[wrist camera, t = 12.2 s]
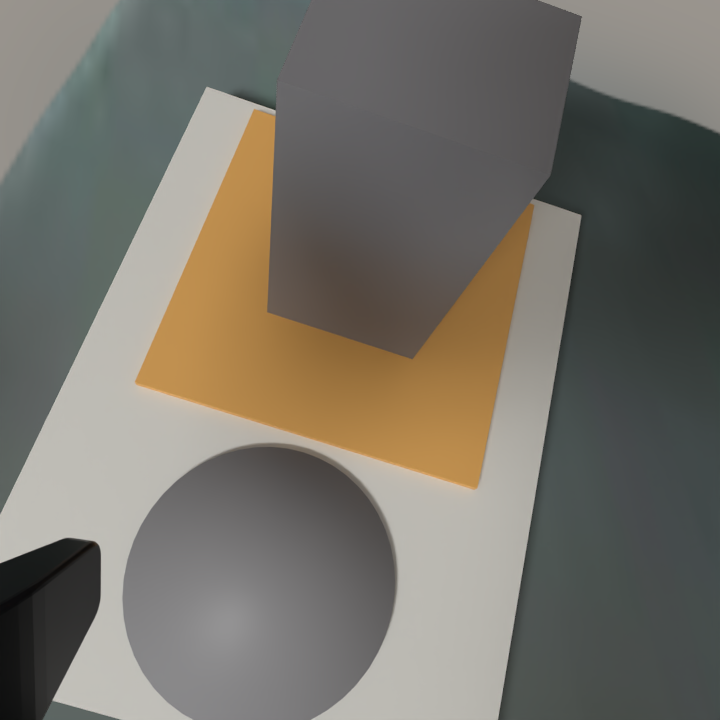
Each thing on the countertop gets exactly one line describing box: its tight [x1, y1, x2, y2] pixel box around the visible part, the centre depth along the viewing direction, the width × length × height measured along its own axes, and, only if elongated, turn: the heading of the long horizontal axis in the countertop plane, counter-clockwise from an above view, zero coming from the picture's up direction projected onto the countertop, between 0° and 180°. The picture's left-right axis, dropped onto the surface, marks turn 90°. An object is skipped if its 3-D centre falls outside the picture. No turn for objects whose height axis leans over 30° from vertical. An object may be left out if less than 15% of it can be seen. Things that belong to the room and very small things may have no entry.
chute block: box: [267, 0, 582, 359], centre depth 16 cm, size 4×5×10 cm
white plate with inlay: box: [0, 87, 582, 720], centre depth 20 cm, size 20×15×2 cm
